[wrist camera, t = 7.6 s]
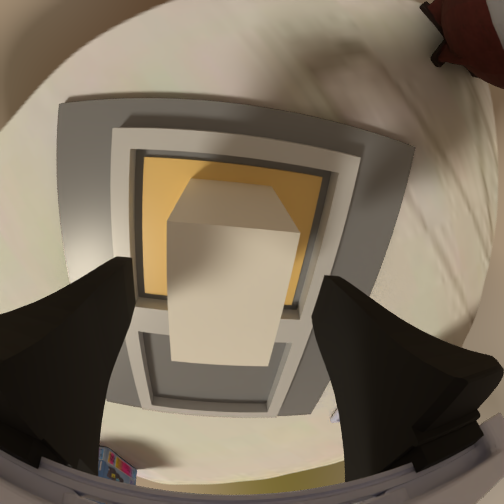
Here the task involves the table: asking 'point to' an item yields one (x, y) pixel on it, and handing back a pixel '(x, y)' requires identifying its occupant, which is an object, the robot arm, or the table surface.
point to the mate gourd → (470, 36)
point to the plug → (227, 272)
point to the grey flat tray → (233, 170)
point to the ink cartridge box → (114, 468)
